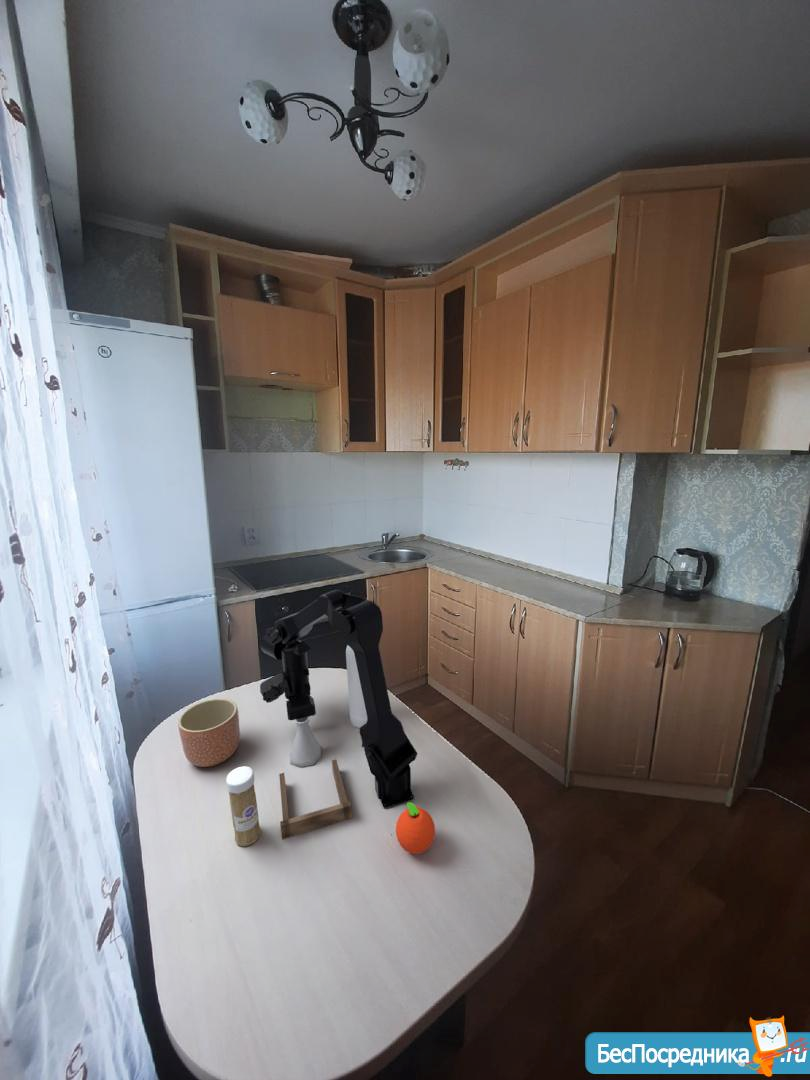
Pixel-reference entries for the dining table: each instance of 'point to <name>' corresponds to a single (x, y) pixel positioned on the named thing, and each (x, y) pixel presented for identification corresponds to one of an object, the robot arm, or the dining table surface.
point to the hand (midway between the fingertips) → (300, 721)
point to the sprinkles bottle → (243, 805)
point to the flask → (304, 745)
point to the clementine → (415, 829)
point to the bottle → (355, 692)
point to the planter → (210, 731)
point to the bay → (318, 817)
